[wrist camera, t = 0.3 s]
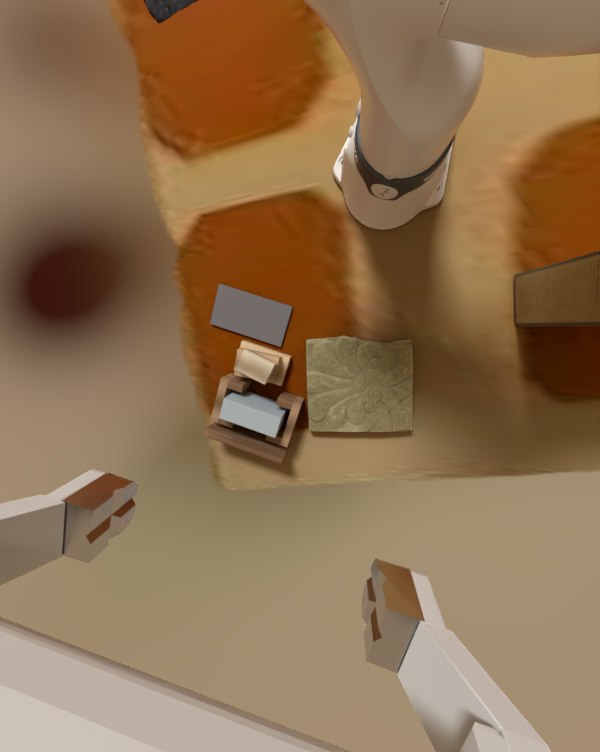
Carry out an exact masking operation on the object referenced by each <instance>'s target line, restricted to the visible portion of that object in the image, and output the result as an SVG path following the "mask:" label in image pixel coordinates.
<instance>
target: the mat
mask: <svg viewBox="0 0 600 752" xmlns="http://www.w3.org/2000/svg"><path fill="white" fill-rule="evenodd" d="M292 308H293V307H291V306H288V305H285V304H282V303H279V302H276V301H273V300H269V299H266V298H263V297H260V296H257V295H254V294H250V293H247V292H244V291H241V290H238V289H235V288H231V287H228V286H225V285H222V284H219V287H218V291H217V296H216V300H215V304H214V309H213V313H212V318H211V322H210V324H212V325H215V326H218V327H221V328H224V329H227V330H230V331H233V332H237V333H240V334H243V335H246V336H249V337H252V338H255V339H258V340H261V341H264V342H267V343H270V344H273V345H276V346H279V347H281V346H282V342H283V339H284V336H285V332H286V329H287V325H288V322H289V319H290V315H291V312H292Z"/></svg>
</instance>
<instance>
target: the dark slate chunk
mask: <svg viewBox="0 0 600 752" xmlns="http://www.w3.org/2000/svg"><path fill="white" fill-rule="evenodd" d="M196 1H198V0H145V3H146V6H147V8H148V10H149V11H150V13H151V14H152V15H153V16H154V17H155V18H156V20H157V22H158V23H160V22H162V21H164V20H165V19H168V18H170V17H171V16H172V15H173V14H175V13H176V12H177V11H178V10H182V9H183V8H186V7H188V6H189V5H190V4H192V3H194V2H196Z"/></svg>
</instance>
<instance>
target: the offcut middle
mask: <svg viewBox="0 0 600 752" xmlns="http://www.w3.org/2000/svg"><path fill="white" fill-rule="evenodd" d="M244 350H245V348H240V349H238V350H237V358H236V365H235V369H236V366H237V364H238V362H239V360H240V358H241V355H242V353H243V351H244ZM252 351H254V350H252ZM254 352H256V353H258V354H260V355H262V356H264V357H266V358H268V359H270V360H272V361H273V362H275V363H277V364H276V366H275V368H274V371H273V373H272V375H271V377H270V379H269V381H268V382H269V383H274V384H275V383H276V382H277V381H278V375H279V370H280V364H281V358H282V356H279V355H274V354H269V353H264V352H259V351H254ZM234 375H237V376H241V377H246V378H250V379H252V378H251V377H249V376H247V375H245V374H243V373H241V372H239V371H237V370H235V372H234Z"/></svg>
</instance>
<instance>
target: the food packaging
mask: <svg viewBox="0 0 600 752" xmlns="http://www.w3.org/2000/svg"><path fill="white" fill-rule="evenodd" d="M514 321H515V325H516V326H600V251H598V252H594V253H591V254H587V255H584V256H580V257H577V258H573V259H570V260H566V261H563V262H559V263H556V264H552V265H549V266H545V267H541V268H538V269H534V270H531V271H527V272H523V273H519V274H515V275H514Z"/></svg>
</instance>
